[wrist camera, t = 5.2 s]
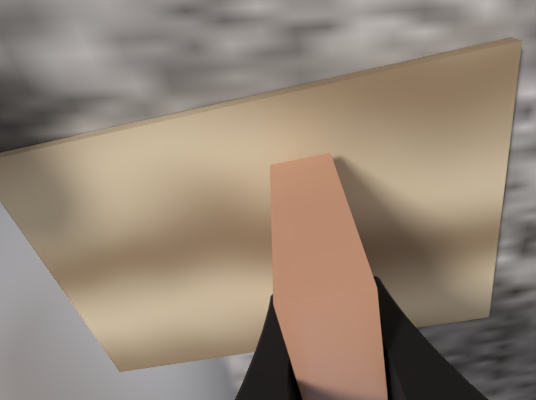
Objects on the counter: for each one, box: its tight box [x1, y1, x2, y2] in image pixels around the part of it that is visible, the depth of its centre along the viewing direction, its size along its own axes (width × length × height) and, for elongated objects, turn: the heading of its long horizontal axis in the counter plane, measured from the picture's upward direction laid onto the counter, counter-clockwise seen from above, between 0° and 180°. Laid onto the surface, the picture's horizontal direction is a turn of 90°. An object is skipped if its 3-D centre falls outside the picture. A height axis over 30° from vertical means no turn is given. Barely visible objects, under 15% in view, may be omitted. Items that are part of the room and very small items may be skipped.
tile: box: [270, 153, 388, 400], centre depth 12 cm, size 8×2×6 cm, turn 13°
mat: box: [0, 38, 522, 372], centre depth 15 cm, size 12×18×1 cm, turn 103°
